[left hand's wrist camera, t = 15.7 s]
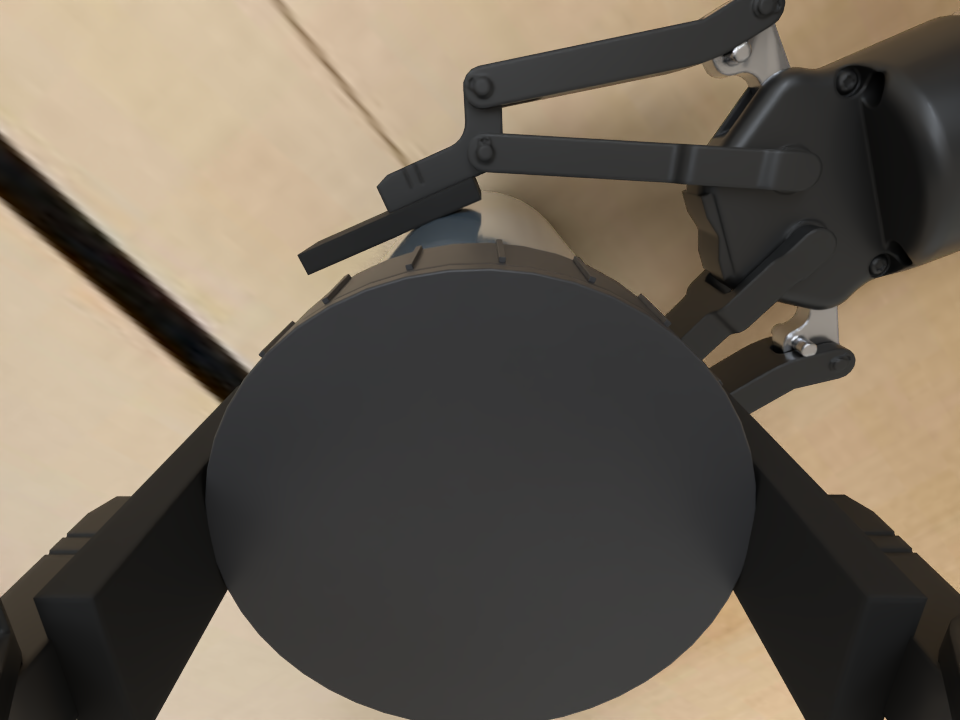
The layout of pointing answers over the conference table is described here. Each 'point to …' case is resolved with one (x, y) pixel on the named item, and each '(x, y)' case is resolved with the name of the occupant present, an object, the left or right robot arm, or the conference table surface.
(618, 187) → the conference table surface
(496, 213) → the jar
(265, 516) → the lid
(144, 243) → the conference table surface
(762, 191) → the right robot arm
